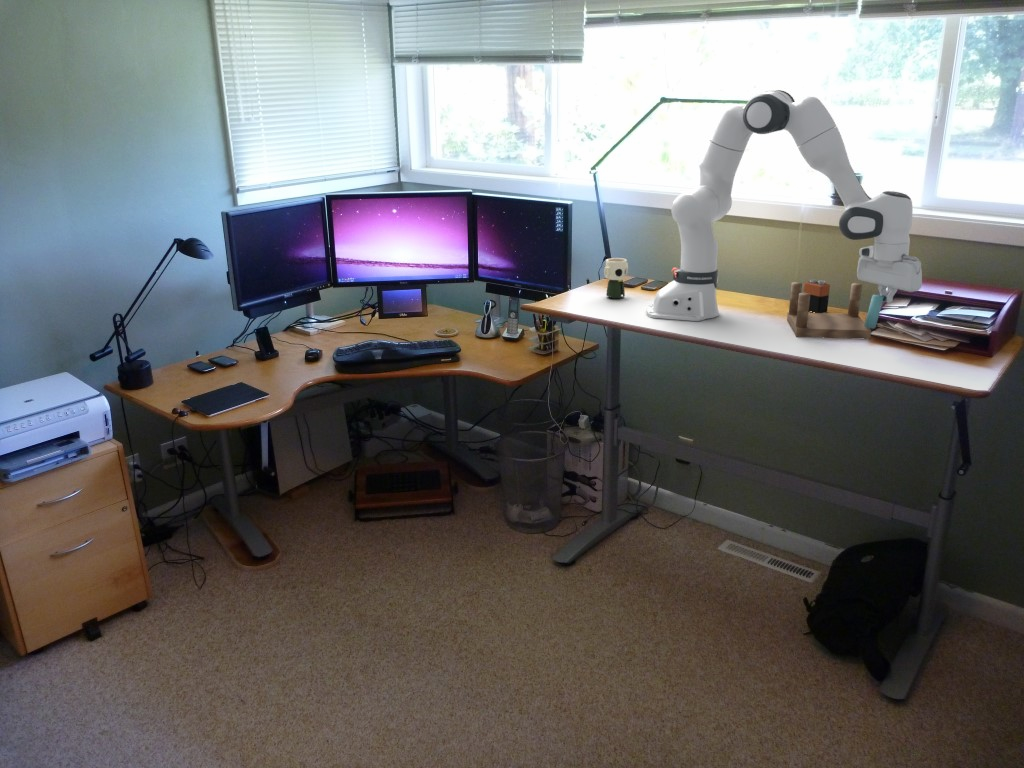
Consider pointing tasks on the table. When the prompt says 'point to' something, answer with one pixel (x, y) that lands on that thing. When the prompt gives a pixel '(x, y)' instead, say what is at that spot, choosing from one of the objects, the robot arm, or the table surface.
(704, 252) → the robot arm
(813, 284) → the battery
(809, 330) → the stool
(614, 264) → the character mug
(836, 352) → the table surface
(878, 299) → the folding leg
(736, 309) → the table surface
